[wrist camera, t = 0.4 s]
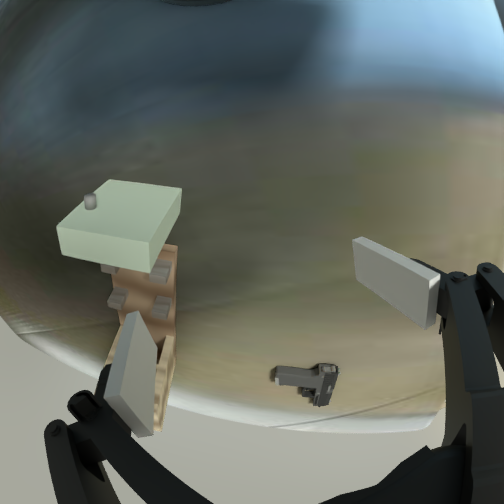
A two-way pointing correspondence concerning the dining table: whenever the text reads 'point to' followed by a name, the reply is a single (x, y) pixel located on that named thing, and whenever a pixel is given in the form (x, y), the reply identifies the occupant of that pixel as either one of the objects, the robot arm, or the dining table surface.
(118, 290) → the wooden rack
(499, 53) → the dining table surface
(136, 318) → the robot arm
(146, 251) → the pale green block
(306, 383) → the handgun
